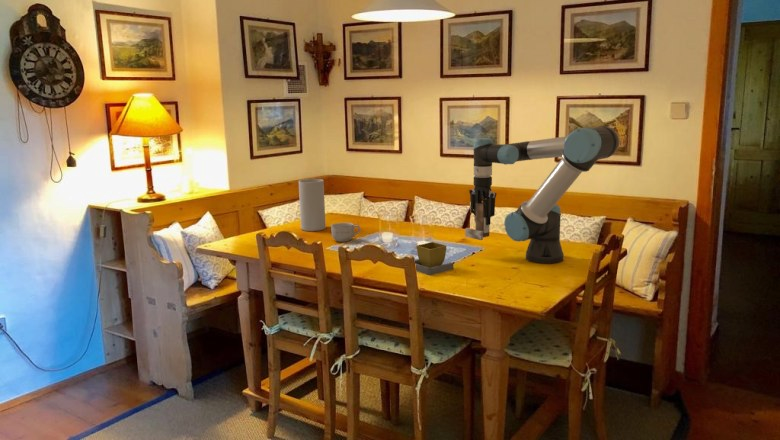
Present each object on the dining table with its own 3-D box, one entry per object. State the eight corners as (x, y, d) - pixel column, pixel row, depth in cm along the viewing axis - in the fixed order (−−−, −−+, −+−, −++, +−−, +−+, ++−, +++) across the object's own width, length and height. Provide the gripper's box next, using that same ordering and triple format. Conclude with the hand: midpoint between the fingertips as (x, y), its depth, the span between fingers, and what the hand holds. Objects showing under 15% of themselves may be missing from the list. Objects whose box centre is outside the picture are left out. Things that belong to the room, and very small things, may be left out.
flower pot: (430, 271, 249) (430, 249, 247) (416, 267, 256) (415, 245, 254) (447, 267, 254) (447, 245, 252) (432, 263, 261) (432, 241, 259)
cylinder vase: (324, 231, 323) (321, 182, 318) (299, 231, 323) (296, 182, 318) (326, 226, 335) (324, 178, 330) (303, 226, 335) (300, 179, 330)
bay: (453, 269, 251) (453, 263, 251) (429, 275, 244) (429, 269, 243) (429, 262, 262) (429, 256, 262) (406, 267, 255) (406, 261, 254)
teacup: (327, 242, 300) (326, 225, 298) (338, 237, 310) (337, 221, 308) (354, 244, 295) (354, 227, 293) (364, 239, 305) (363, 222, 303)
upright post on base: (493, 237, 267) (494, 204, 264) (480, 240, 262) (480, 206, 259) (478, 233, 274) (478, 201, 271) (465, 236, 269) (465, 203, 266)
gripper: (461, 174, 268) (461, 229, 273) (491, 179, 255) (491, 236, 260) (474, 173, 272) (474, 226, 277) (504, 177, 259) (503, 233, 264)
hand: (482, 231), depth 268 cm, fingers closed on upright post on base, 4 cm apart
